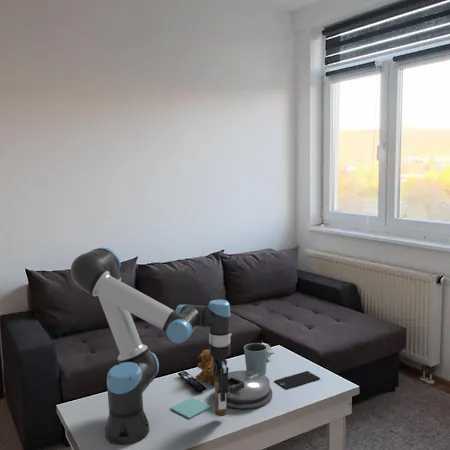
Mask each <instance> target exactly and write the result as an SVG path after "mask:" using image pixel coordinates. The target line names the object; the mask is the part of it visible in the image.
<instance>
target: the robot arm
mask: <svg viewBox="0 0 450 450" xmlns="http://www.w3.org/2000/svg"><path fill="white" fill-rule="evenodd" d="M120 269H121V259H120V257H119V255H118V253H117V252H116V251H114V250H113V249H111V248H109V247H99V248H95V249H92V250H90V251H87V252H85V253H81V254H80V255H78V256H77V257H76V258H75V259H74V260H73V261H72V264H71V265H70V276H71V279H72V281H73V282H74V284H75V285H76V286H77V287H78V288H80V289H81V290H82V291H84V292H86V293H87V294H89V295H91V296H92V297H98V300H99V302H100V304H101V307H102V310H103V312H104V314H105V315H104V316H105V318H106V320H107V323H108V325H109V328H110V331H111V333H112V335H113V338H114V341H115V344H116V346H117V349H118V352H119V354H118V356H117V361H118V363H119V364H115V365H114V366H112V367H111V368H110V369H109V371H108V372H107V377H106V388H107V401H108V402H107V403H108V417H107V420H106V426H105V428H104V429H105V430H104V433H105V434H104V435H105V439H106V440H107V441H108V443H109V442H110V443H112V444H115V445H130V444H134V443H137V442H140V441H142V440H143V439H144V438H146V437H147V436H148V435H149V433H150V422H149V420H148V417H147V415H146V413H145V410H144V402H143V401H144V400H143V399H144V397H143V393H144V392H145V391H146V390H147V388H148V387H149V386H150V385H151V383H152V382H153V381H155V379H156V376H157V375H158V372H159V371H160V370H159V368H160V364H159V359H158V357H157V356H156V354H155V353H153V352H151V350H149V346H147V345H146V344H144V343H143V342H142V341H141V338H140V335H139V333H138V330H137V327H136V325H135V322H134V319H133V317H132V314H133V315H135V316H136V317H138V318H139V319H141V320H144V321H146V323H149V324H150V325H152V326H154V327H156V328H158V329H159V330H161V331H163V332H165V333H166V337H168V340H170V341H171V342H172V343H174V344H182V343H184V342H185V341H187V340H188V339H190V337H191V336H192V334H193V332H194V331H195V330H196V329H197V328H208V337H209V339H208V343H209V346H208V347H209V349H208V350H210V355H211V356H212V357H213V381H215V376H216V375H218V380H219V391H217V393H218V409H219V410H220V409H226V410H227V408H226V393H228V373H229V369H230V368H229V367H228V366H227V365H228V361H227V360H226V358H227V357H229V356H231V350H232V349H231V347H232V346H231V337H232V336H233V333H231V315H232V313H231V305H230V303H229V301H227V300H226V299H213V300H210V301H209V303H208V305H197V304H196V305H194V304H178V305H177V306H176V308H175V310H174V309H172V308H171V307H168V306H167V305H165V304H163V303H161V302H159V301H157V300H156V299H154V298H152V297H150V296H148V295H147V294H145V293H143V292H141V291H140V290H138V289H136V288H134V287H132V286H130V285H128V284H126V283H124V282H122V278H123V277H122V275H121V273H120ZM214 385H215V382H214Z"/></svg>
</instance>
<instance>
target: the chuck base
mask: <svg viewBox="0 0 450 450" xmlns="http://www.w3.org/2000/svg"><path fill="white" fill-rule="evenodd" d="M272 399H273V390H272V388H271V387H270V393H269V395H268V397H267V398H265V399H264V400H262V401H259V402H256V403H252V404H234V403H230V402H227V401H226V409H231V410H235V411H238V410H239V411H248V410H249V411H251V410H256V409H259V408H262V407H265V406H266V405H268V404H269V403H270V402H271V400H272Z"/></svg>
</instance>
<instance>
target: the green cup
mask: <svg viewBox="0 0 450 450" xmlns="http://www.w3.org/2000/svg"><path fill="white" fill-rule="evenodd" d="M261 343H262V342H261ZM261 343H260V342H252V343H251V342H250V343H248V344H246V345H244V346H243V351H244V352H243V353H244V359H245V361H244V362H245V366H246V368H245V369H246V370H245V371H254V372H258V373H261V374H263V375H265V376H266V374H267V363H268V362H267V361H268V359H267V357H266V355H267V346H266V345H264V344H261Z"/></svg>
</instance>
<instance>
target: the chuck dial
mask: <svg viewBox="0 0 450 450" xmlns="http://www.w3.org/2000/svg"><path fill="white" fill-rule="evenodd" d="M270 383H271V382H270V378H269V377H268V376H266V374H265V375H263V374H261V373H258V372H254V371H246V370H233V371H230V372H229V371H228V393H226V401H227V402H230V403H234V404H252V403H256V402H259V401H262V400H264V399H265V398H267V397H268V395H269V393H270V388H271V387H270V386H271V385H270Z"/></svg>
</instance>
